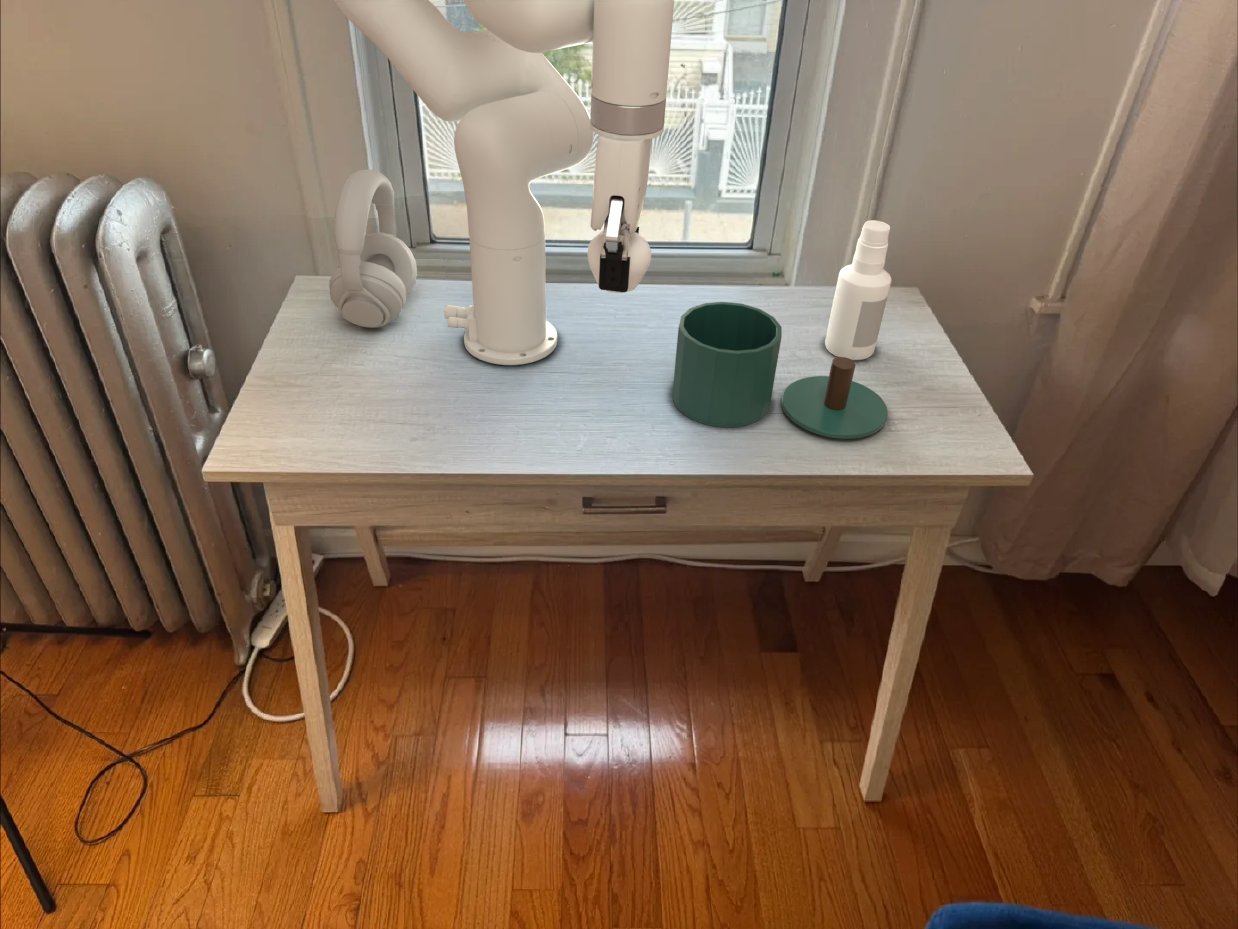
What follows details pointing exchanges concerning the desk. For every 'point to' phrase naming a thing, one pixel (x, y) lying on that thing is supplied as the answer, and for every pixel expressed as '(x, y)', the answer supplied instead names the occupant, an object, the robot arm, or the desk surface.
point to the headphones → (369, 254)
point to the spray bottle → (860, 296)
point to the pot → (725, 363)
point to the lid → (835, 404)
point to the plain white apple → (636, 252)
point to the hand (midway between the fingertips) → (618, 272)
